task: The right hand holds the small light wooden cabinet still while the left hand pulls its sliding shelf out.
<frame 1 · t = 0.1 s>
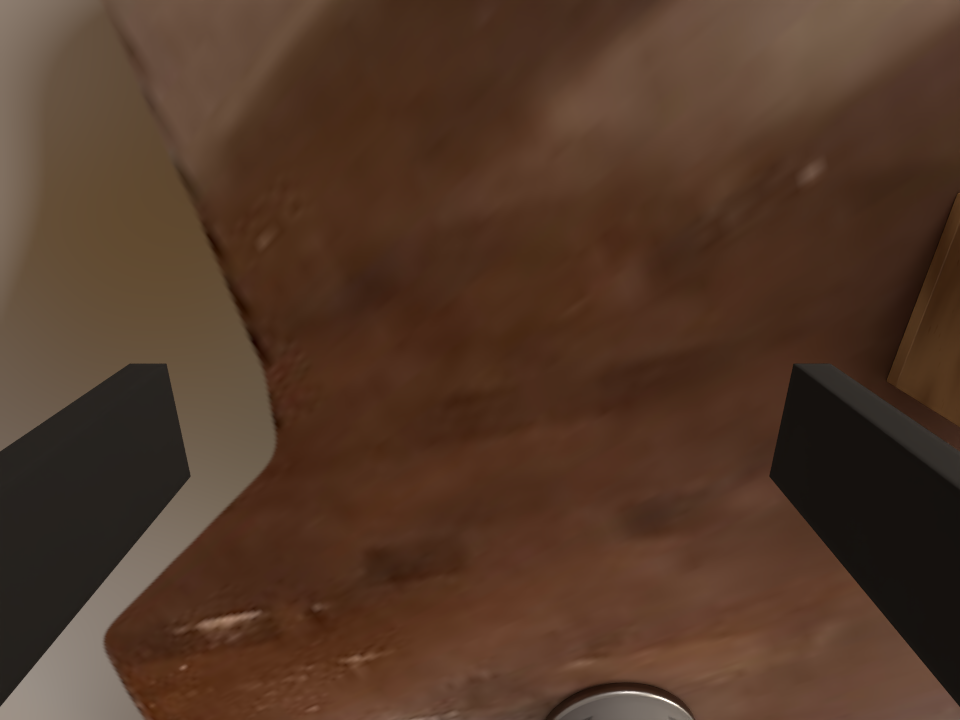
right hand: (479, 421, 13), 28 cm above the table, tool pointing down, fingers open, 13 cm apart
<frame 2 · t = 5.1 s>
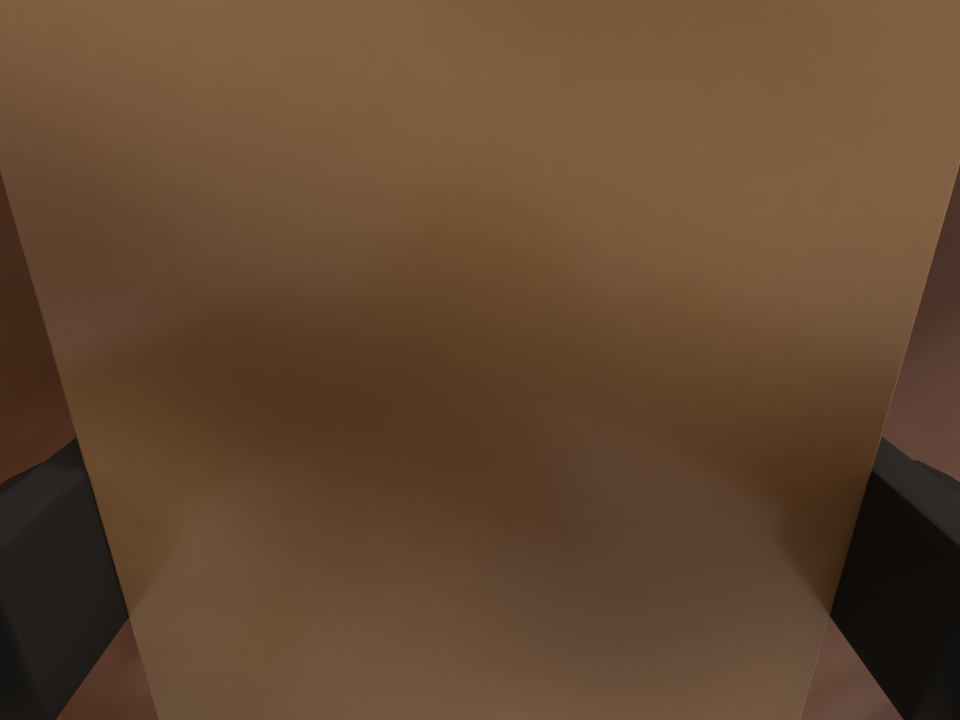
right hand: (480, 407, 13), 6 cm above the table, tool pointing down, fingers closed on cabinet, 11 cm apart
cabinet: (479, 245, 17), on the table, touching right hand
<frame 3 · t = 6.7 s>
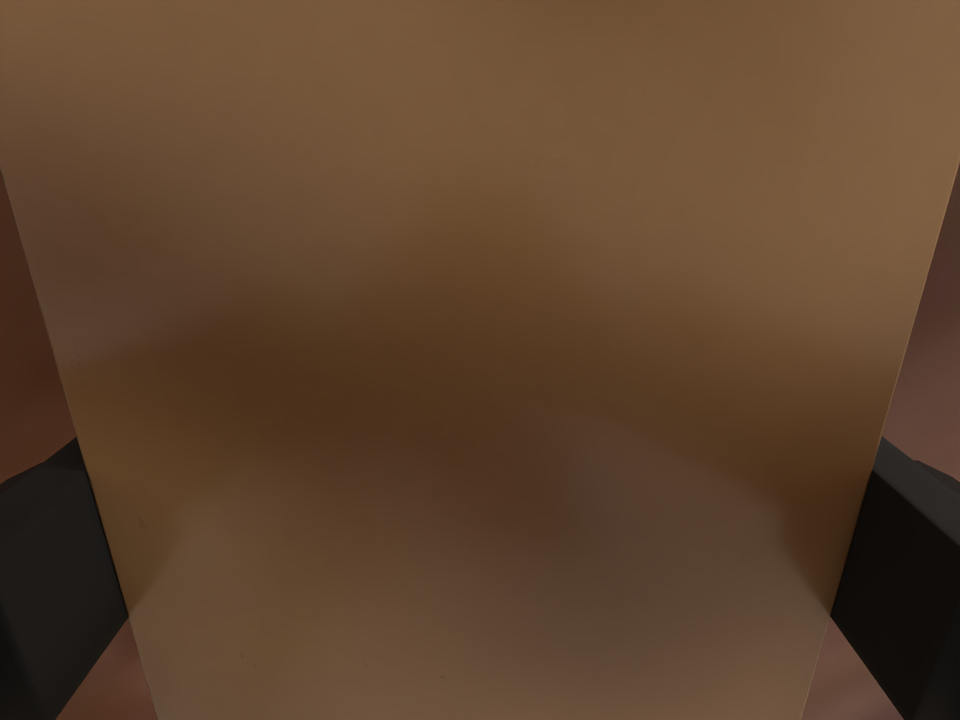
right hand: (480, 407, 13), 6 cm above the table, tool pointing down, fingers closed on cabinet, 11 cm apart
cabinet: (479, 246, 17), on the table, touching right hand
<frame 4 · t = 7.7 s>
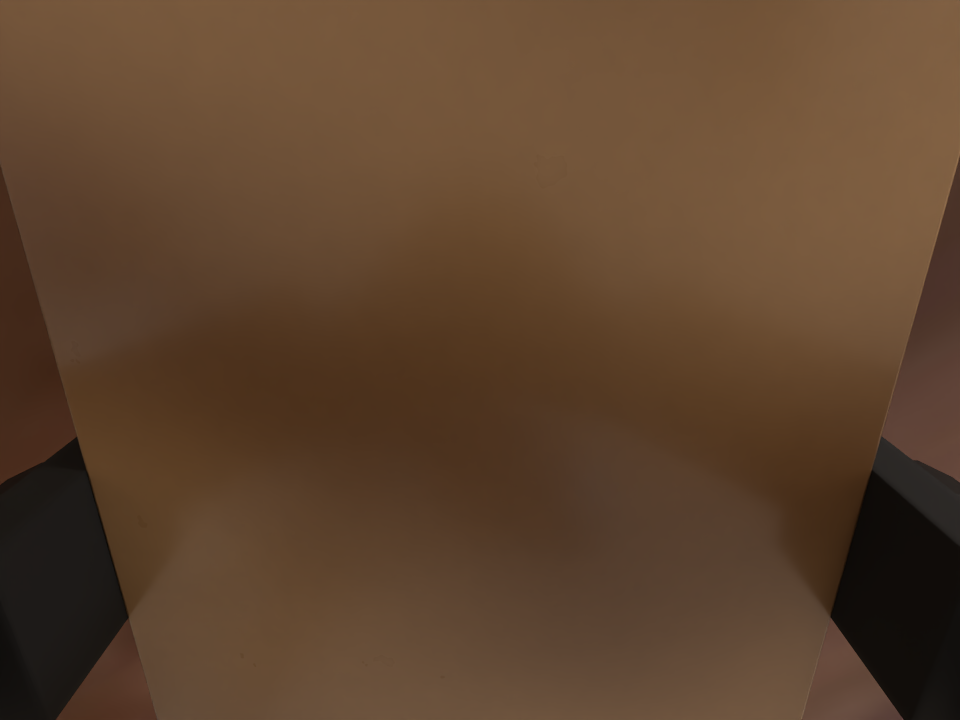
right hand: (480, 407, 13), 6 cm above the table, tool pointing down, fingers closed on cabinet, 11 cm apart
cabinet: (479, 246, 17), on the table, touching right hand
when the right hand's fingers open (6 cm above the table, at t = 9.7 s): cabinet stays where it is, on the table.
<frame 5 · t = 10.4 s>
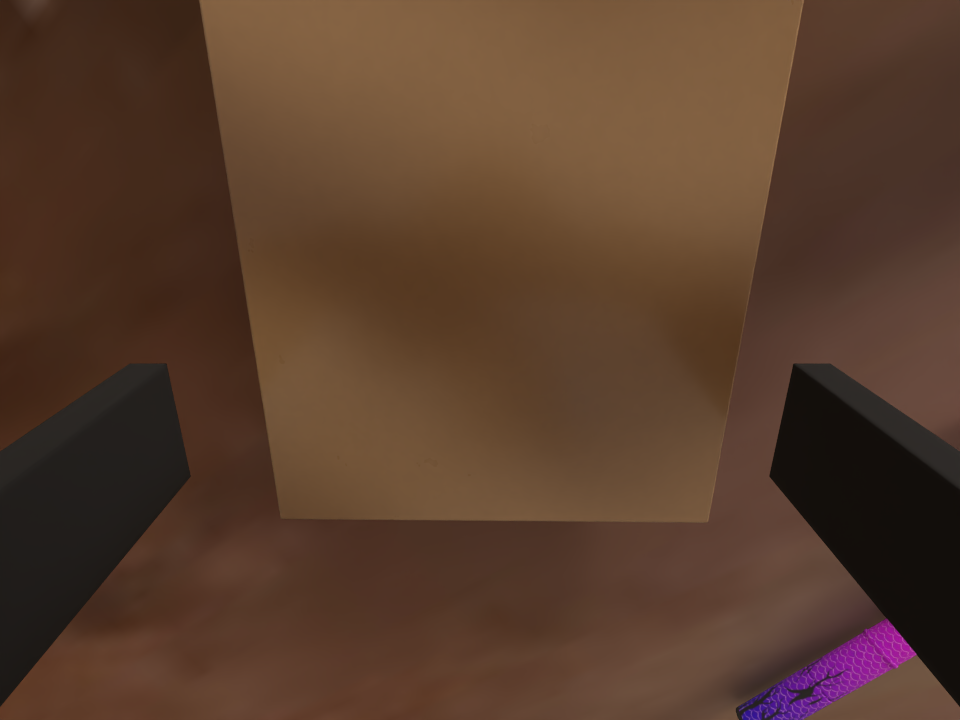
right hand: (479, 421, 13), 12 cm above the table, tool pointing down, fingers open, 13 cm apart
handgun: (901, 567, 29), on the table
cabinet: (492, 204, 22), on the table
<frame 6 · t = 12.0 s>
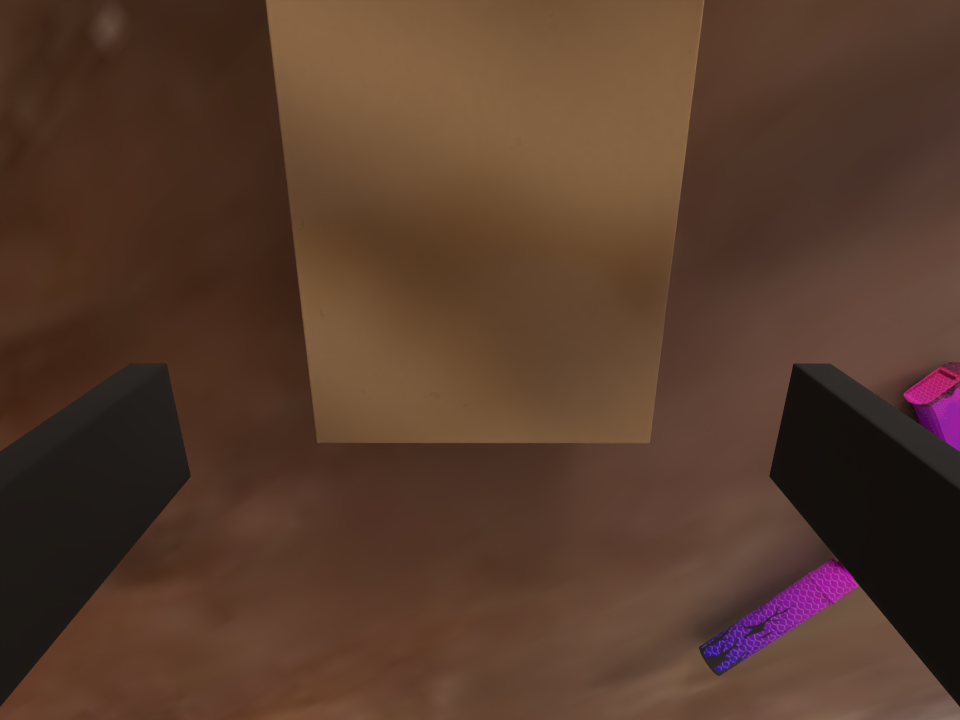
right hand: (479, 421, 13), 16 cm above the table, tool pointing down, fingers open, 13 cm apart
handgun: (838, 515, 33), on the table
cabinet: (482, 201, 27), on the table
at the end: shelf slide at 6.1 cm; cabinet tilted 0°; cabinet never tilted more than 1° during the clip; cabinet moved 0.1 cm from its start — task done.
